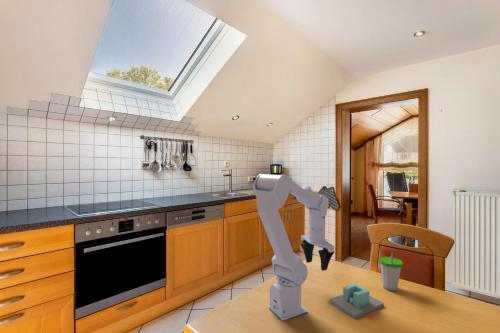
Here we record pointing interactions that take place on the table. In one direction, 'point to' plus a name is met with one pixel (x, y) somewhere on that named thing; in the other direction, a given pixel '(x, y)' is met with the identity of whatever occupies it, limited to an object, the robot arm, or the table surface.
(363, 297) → the teal slotted block
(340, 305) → the post board
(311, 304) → the table surface
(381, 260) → the cup
